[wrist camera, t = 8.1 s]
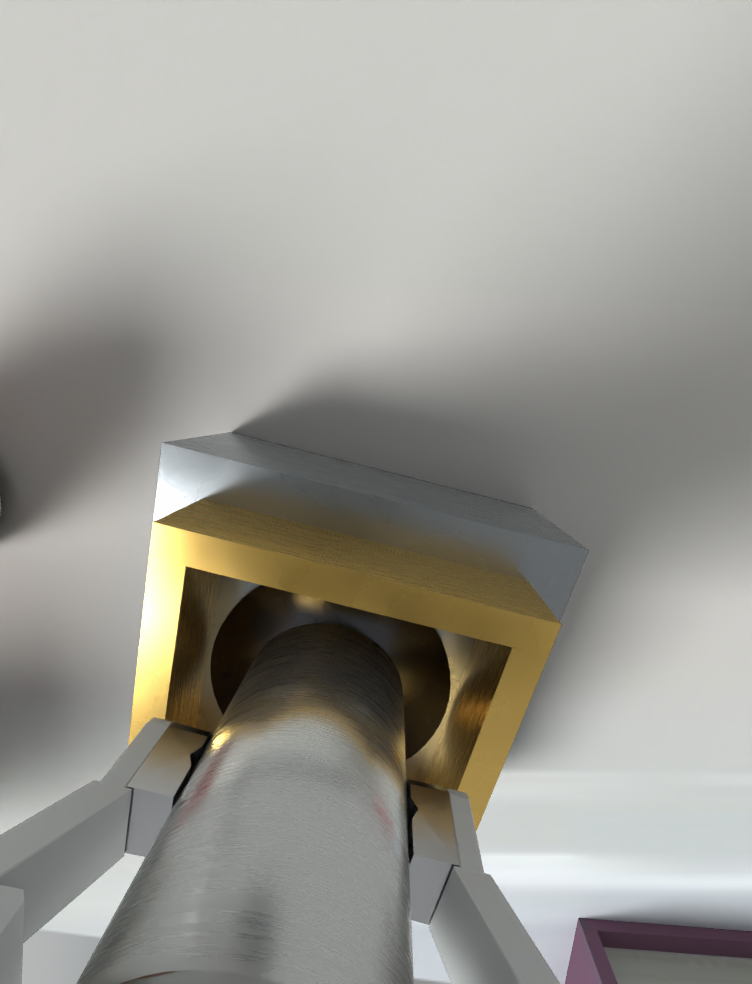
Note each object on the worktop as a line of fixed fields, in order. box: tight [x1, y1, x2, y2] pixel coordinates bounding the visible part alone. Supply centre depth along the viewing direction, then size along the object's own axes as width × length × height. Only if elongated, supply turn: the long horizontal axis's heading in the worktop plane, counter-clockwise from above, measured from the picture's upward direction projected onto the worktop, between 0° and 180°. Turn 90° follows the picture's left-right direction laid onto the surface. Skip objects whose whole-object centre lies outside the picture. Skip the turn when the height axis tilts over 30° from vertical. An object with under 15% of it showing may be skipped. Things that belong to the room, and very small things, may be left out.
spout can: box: [77, 623, 414, 984], centre depth 9 cm, size 6×5×7 cm
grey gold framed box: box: [128, 432, 589, 830], centre depth 15 cm, size 20×14×8 cm
